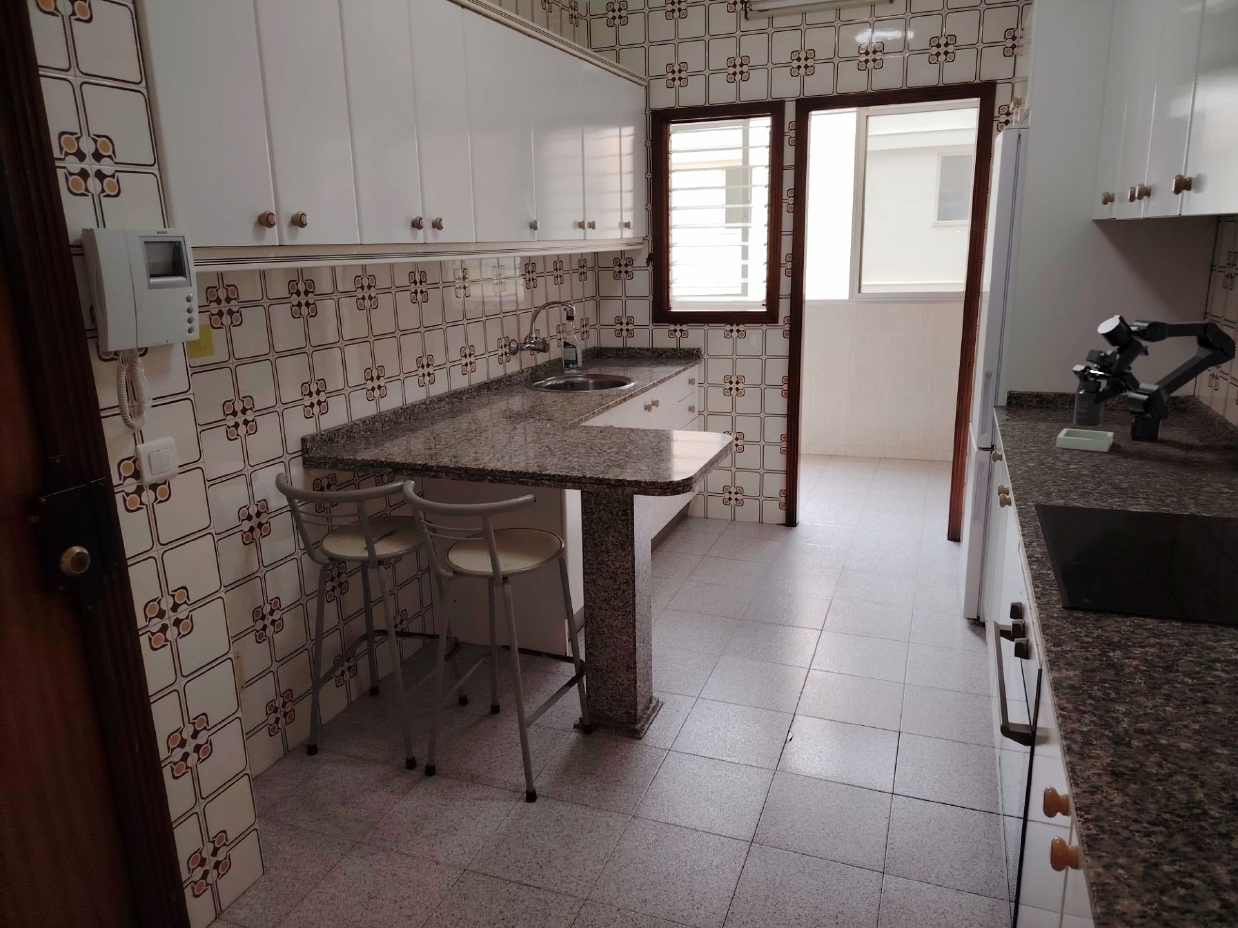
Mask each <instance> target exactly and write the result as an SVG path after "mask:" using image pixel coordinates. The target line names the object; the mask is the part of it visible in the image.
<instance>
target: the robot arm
mask: <svg viewBox="0 0 1238 928" xmlns="http://www.w3.org/2000/svg"><path fill="white" fill-rule="evenodd" d="M1097 332H1098V333H1099V334H1100V336H1101V337H1102V338H1103V339H1104V340H1105V342H1106V343H1107V344H1108V345H1109V346H1110V347H1112V348H1113V347H1115V349H1114V350H1113V349H1108V350H1107V351H1104V350H1100V349H1099V350H1098V349H1089V351H1088V354H1087V355H1086V358H1085V361H1086V362H1090V363H1092V364H1093V368H1094V369H1096V370H1097V371H1095V370H1093V369H1092V367H1091V366H1090V365H1089V364H1088V365H1087V364H1081V363H1079V364H1076V365H1074V367H1073V368H1072V369H1071V371H1072V373H1073V374H1074V375H1075V376H1076V378H1077V379H1078V381H1079V382H1078V386H1077V389H1076V391H1075V394H1074V400H1075V401H1076V394H1077V392H1078V391H1080V390H1082V388H1081V383H1082V381H1085V380H1094V381H1101V382H1102V381H1104V382H1106V383H1105V386H1104V387H1103V388H1102V390H1100V391H1101V392H1100V394H1099V395H1098V396H1097V398H1096V399H1095V401H1094V403H1095V404H1099V403H1101V402H1103V401H1104V402H1106V401H1108V400H1110V399H1112V398H1115V397H1117V396H1120V395H1122V394H1127V393H1128V395H1127V397H1126V407H1127V409H1128V412H1129V415H1130V416H1132V417H1133V416H1134V419H1133V420H1131V422H1130V423H1131V424H1130V432H1129V436H1130V437H1131V439H1130V440H1136V441H1146V442H1147V441H1148V442H1159V440H1160V436H1161V435H1160V432H1161V423H1162V421H1163V420H1167V419H1168V417H1169V416H1170V412H1171V411H1170V410H1168V408H1167V407H1166V406H1165V405H1166V404H1167V401H1168V399H1169V396H1171V395H1172V394H1174V393H1175V392H1177V391H1178V390H1179V389H1181V388H1182V387H1184V386H1185V385H1187V384H1188V383H1190V382H1191V381H1192V380H1193V379H1195V378H1196V377H1198V376H1199V375H1200V374H1202V373H1203V372H1205V371H1207V370H1208V369H1210V368H1212V367H1216V366H1220V365H1224V364H1226V363H1228V362H1230V361H1232V360H1234V359H1235V358H1236V357H1235V351H1236V350H1235V348H1236V347H1235V342H1236V341H1235V340H1234V339H1233V337H1231V335H1229V334H1228V333H1227V332H1225V331H1224V330H1223V329H1221V327H1219V325H1218V324H1217V323H1215V322H1214V321H1208V320H1198V321H1183V322H1182V321H1181V322H1180V321H1179V322H1162V321H1157V320H1147V319H1146V320H1145V319H1137V320H1135V321H1134V322H1133V323H1132V324H1128V323H1127V321H1126V320H1125V318H1124V317H1123V315H1120V314H1115V315H1114V316H1113V317H1111V318H1109V319H1106V320H1104V322H1101V323H1100V325H1099V326H1098V327H1097ZM1194 336H1195V341H1196V342H1195V343H1196V345H1197V346H1198V347H1197V349H1196V352H1195V355H1194V356H1193V357H1191V358H1190V359H1188V360H1187V361H1186V362H1184V363H1183V364H1180V365H1179V366H1178V367H1176V368H1175V369H1174V370H1172V371H1171V372H1170V373H1167V375H1165V376H1164V377H1162V378H1161V379H1160V380H1158V381H1157V382H1155V383H1149V382H1142V383H1140V381H1139V379H1138V378H1137V377H1136V376H1135V374H1134V373H1133V372H1132V369H1133V367H1132V366H1131V365H1132V364H1133V363H1134V362H1135V360H1136V359H1137V358H1138V357H1139V356H1142V357H1149V355H1150V354H1149V350H1148V347H1149V346H1148V345H1144V344H1143V343H1142V342H1146V343H1147V342H1148V343H1158V342H1162V341H1165V340H1166V339H1169V338H1179V337H1180V338H1181V337H1194ZM1234 341H1235V342H1234Z"/></svg>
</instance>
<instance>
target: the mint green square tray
mask: <svg viewBox="0 0 1238 928" xmlns="http://www.w3.org/2000/svg"><path fill="white" fill-rule="evenodd" d="M1113 439H1114V432H1111V431H1101V430H1099V431H1098V430H1089V429H1078V428H1077V429H1074V428H1066V427H1065V428H1063V429H1062V430H1061V431H1060V433H1059V434H1058V435H1057V436H1056V443H1055V444H1056V445H1055V448H1060V449H1061V448H1062V449H1072V450H1081V451H1082V450H1083V451H1084V450H1085V451H1093V452H1094V451H1095V452H1103V453H1104V452H1105V453H1108V452H1109V449H1110V448H1111V446H1112V445H1113Z"/></svg>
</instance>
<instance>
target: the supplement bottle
mask: <svg viewBox="0 0 1238 928" xmlns="http://www.w3.org/2000/svg"><path fill="white" fill-rule="evenodd" d="M1081 388H1082V390H1080V391H1078V392H1077V394H1076V393H1075V394H1076V400H1075V405H1074V415H1073V423H1074V424H1075V426H1081V427H1099V426H1101V425H1102V421H1103V415H1104V404H1105V403H1104V402H1105V401H1103V402H1101V403H1099V404H1095V403H1094V401H1095V399H1096V398H1097V396H1098V395H1099V394H1100V392H1101V391H1102V390H1101V389H1102V380H1097V381H1094V380H1085V381H1082V383H1081Z"/></svg>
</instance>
